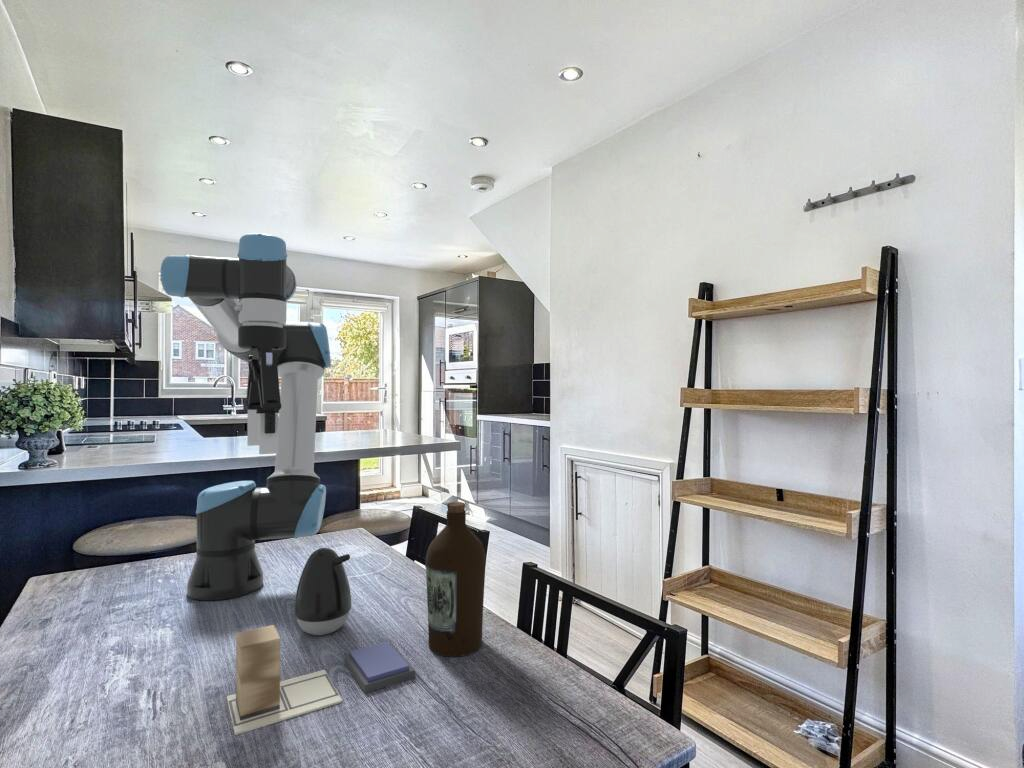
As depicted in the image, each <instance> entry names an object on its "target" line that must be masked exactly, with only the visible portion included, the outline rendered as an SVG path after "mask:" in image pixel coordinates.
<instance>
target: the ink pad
mask: <svg viewBox="0 0 1024 768" xmlns="http://www.w3.org/2000/svg"><path fill="white" fill-rule="evenodd" d="M343 663H344V664H345V666H346V667H347V669H349V671H350V673H351V674H352V676H353V677H354V679H355V680H356V682H357V684H358V685H359V686H360V688H361V689H362V691H363V692H364V693H365V694H367V693H369V692H370V693H371V692H373V691H376V690H379V689H383V688H386V687H390V686H392V685H396V684H399V683H402V682H405V681H409V680H412V679H415V678H416V669H415V668H414V667H413V666H412V665H411V663H409V662H408V660H407V658H405V657H404V656H403V654H401V652H400V651H399V650H398V649H397V648H396V647H395V646H394V644H393V643H391V642H389V641H384V642H383V641H382V642H380V643H376V644H371V645H368V646H365V647H360V648H357V649H353V650H349V652H347V653H344V654H343Z"/></svg>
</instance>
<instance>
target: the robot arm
mask: <svg viewBox="0 0 1024 768" xmlns="http://www.w3.org/2000/svg"><path fill="white" fill-rule="evenodd" d="M238 243H239V244H238V252H237V257H217V256H202V255H190V254H185V255H184V254H183V255H182V254H179V255H178V254H177V255H172V254H171V255H167V256H165V257H164V258H163V260H162V261H161V264H160V265H161V266H160V283H161V286H162V289H163V291H164V293H166V294H167V295H168V296H170V297H179V298H181V299H182V298H189V300H191V302H192V303H193V304H194V305H195V307H196V308H197V310H199V312H200V313H201V314H202V315H203V317H204V318H205V319H206V320H207V322H208V323H209V324H210V325H211V326H212V328H213V329H214V330H215V332H216V334H217V335H216V336H217V340H218V342H219V344H220V345H221V347H222V348H223V349H224V350H226V351H227V352H228V353H230V354H231V355H232V356H233V357H236V358H238V359H239V360H241V361H244V362H246V363H247V365H248V375H247V386H246V400H245V404H246V407H247V442H246V443H247V446H248V447H251V446H253V447H254V446H258V448H259V449H258V453H259V455H271V454H275V464H274V472H273V473H272V474H270V475H269V476H267V478H266V486H262V487H257V483H256V482H255V481H254V480H238V481H231V482H226V483H225V482H224V483H222V484H221V483H220V484H217V485H213V486H210V487H207V488H205V489H203V490H202V491H201V492H199V493H198V495H197V499H196V500H197V501H196V503H197V504H196V510H195V514H196V555H195V557H196V558H195V560H194V563H193V566H192V568H191V571H190V575H189V578H188V580H187V584H186V595H187V597H189V598H190V599H194V600H197V601H222V600H228V599H233V598H237V597H241V596H244V595H247V594H251V593H252V592H255V591H256V590H259V588H261V587H262V586H263V585H264V571H263V569H262V565H261V563H260V560H259V558H258V556H257V553H256V541H259V540H275V539H276V540H278V539H293V538H294V539H300V538H305V537H313V536H315V535H316V534H317V533H318V532H319V531H320V528H321V526H322V523H323V517H324V513H325V507H326V506H325V505H326V496H327V487H326V486H325V485H324V484H322V483H321V478H320V476H319V475H318V474H316V473H315V469H314V468H315V450H316V449H315V447H316V429H317V426H316V425H317V407H318V405H317V404H318V387H319V386H318V384H319V383H318V382H319V379H321V378H322V377H324V375H325V369H328V368H330V367H332V366H331V365H332V364H331V363H332V362H331V352H330V350H331V349H330V344H329V337H328V330H327V326H325V324H324V323H322V322H311V321H309V320H308V321H287V301H289V300H290V299H291V298H292V297H294V295H295V293H296V291H297V280H296V275H295V273H294V271H293V270H292V268H290V267H289V265H288V264H287V258H288V253H287V244H286V241H285V240H284V239H283V238H281V237H279V236H276V235H272V234H267V233H253V232H252V233H246V234H244V235H241V237H240V238H239V242H238ZM279 377H280V378H281V381H280V380H279Z"/></svg>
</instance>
